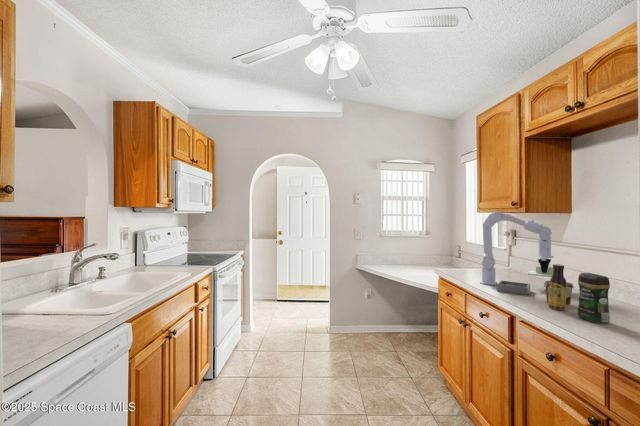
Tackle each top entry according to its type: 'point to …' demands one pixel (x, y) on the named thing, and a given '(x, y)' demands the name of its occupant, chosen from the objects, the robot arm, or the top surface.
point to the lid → (539, 272)
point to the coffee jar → (593, 298)
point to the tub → (514, 287)
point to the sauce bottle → (557, 288)
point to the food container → (568, 291)
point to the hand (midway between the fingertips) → (544, 272)
